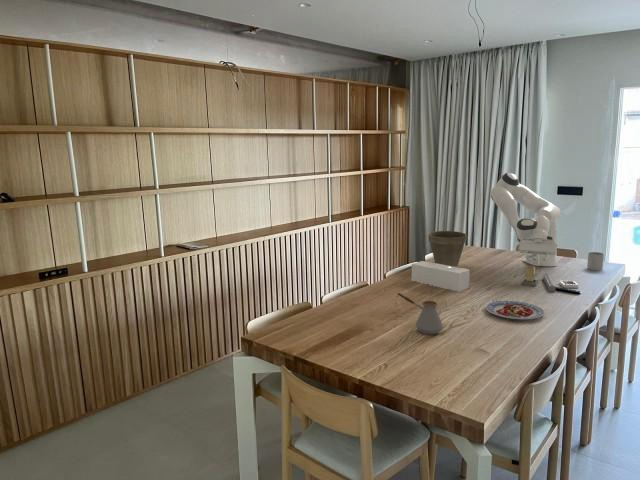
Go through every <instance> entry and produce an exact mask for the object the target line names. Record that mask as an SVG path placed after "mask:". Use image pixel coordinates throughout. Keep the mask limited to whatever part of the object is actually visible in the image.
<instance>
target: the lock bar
mask: <svg viewBox="0 0 640 480" xmlns="http://www.w3.org/2000/svg"><path fill="white" fill-rule="evenodd" d="M525 269H526V270H525V271H526V272H525V278H526V282H534V279H535V280H536V277H535V276H536V266H534V265H527V266H526V268H525Z"/></svg>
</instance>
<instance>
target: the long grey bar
mask: <svg viewBox="0 0 640 480" xmlns="http://www.w3.org/2000/svg"><path fill="white" fill-rule="evenodd" d="M542 277H543V281H544V283H545V286H546V287H547V290H548V292H549V293H550V292H553V293H555V292H556V285H555V283H554V281H553V279H552V276H551V275H550V274H549V273H543V276H542Z"/></svg>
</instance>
